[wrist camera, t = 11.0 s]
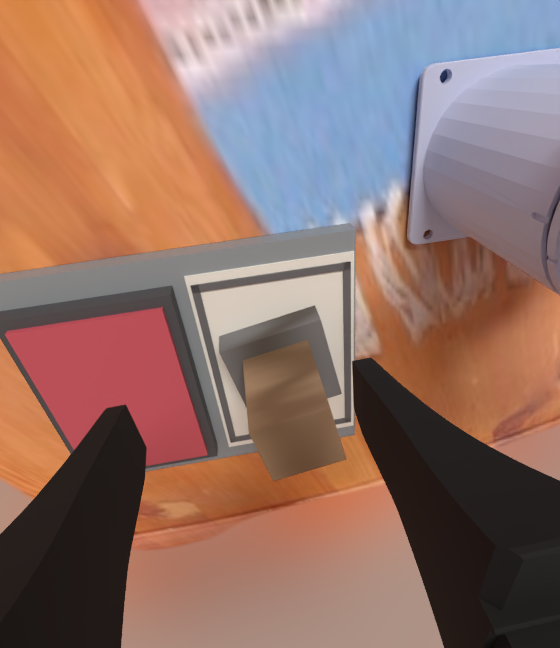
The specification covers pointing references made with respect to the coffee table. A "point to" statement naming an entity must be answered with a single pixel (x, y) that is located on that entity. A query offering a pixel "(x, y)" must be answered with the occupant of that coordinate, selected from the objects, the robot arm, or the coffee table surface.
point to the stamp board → (174, 335)
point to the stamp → (286, 391)
